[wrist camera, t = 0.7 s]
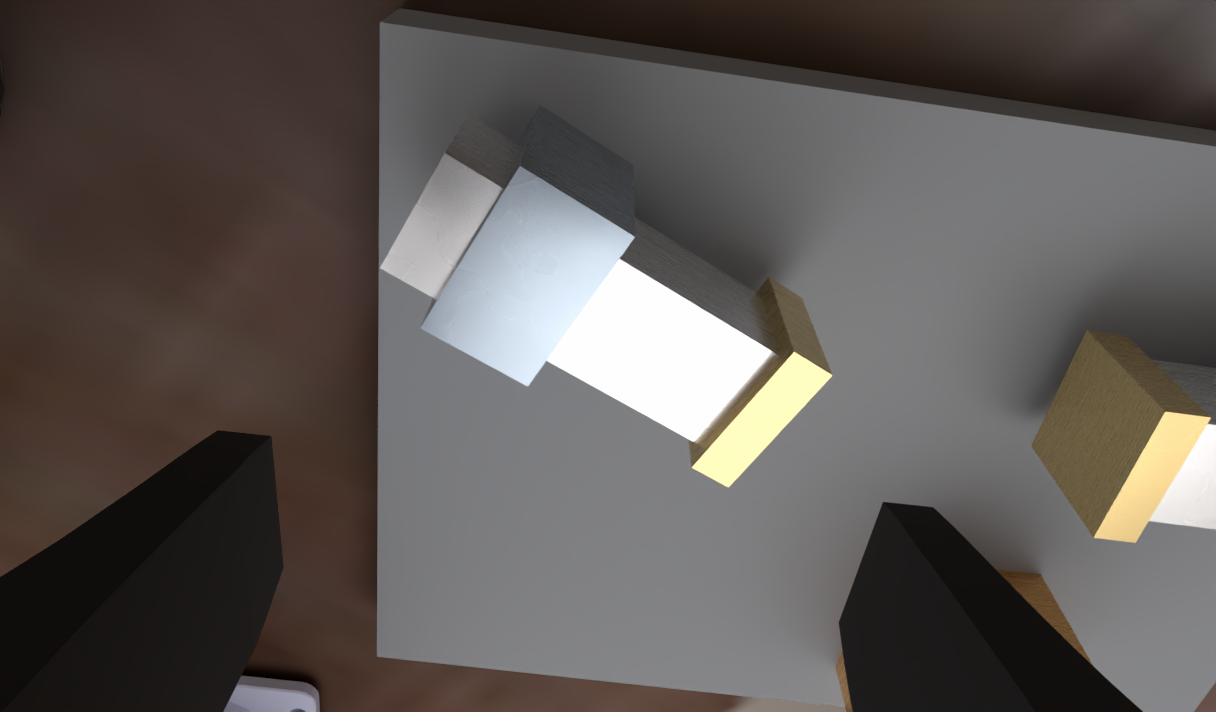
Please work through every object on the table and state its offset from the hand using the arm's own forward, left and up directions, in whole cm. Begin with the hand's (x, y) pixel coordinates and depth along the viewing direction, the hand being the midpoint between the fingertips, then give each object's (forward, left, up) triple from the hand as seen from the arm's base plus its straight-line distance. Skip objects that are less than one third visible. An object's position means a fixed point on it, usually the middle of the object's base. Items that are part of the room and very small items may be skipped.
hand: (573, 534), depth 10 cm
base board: (-4, -7, -9) cm, 12 cm away
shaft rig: (0, -7, -8) cm, 10 cm away
